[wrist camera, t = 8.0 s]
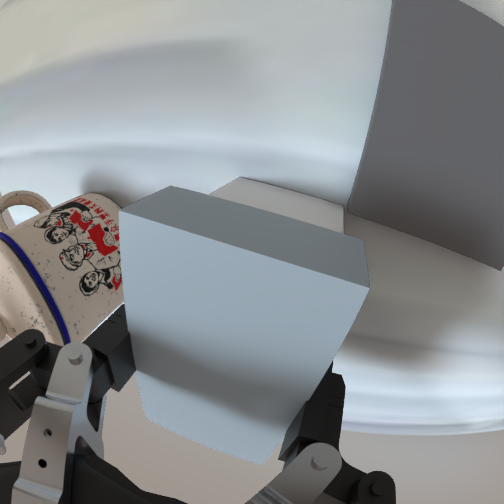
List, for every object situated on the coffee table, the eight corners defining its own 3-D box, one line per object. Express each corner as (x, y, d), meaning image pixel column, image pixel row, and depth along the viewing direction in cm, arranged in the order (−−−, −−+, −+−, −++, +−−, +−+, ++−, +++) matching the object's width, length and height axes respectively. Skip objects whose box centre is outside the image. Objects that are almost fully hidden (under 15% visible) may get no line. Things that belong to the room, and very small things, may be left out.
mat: (393, -18, 8) (396, -25, 7) (543, 66, 6) (552, 64, 5) (346, 207, 14) (347, 212, 13) (494, 263, 12) (500, 271, 11)
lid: (170, 185, 9) (118, 210, 7) (363, 240, 8) (370, 288, 6) (168, 384, 14) (146, 418, 12) (275, 424, 13) (262, 465, 11)
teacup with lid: (172, 262, 19) (46, 384, 9) (117, 310, 23) (30, 398, 13) (76, 136, 17) (-65, 182, 7) (43, 209, 21) (-55, 264, 11)
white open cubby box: (239, 177, 15) (195, 202, 11) (343, 205, 14) (343, 245, 10) (218, 308, 19) (184, 358, 15) (297, 334, 18) (281, 393, 14)
